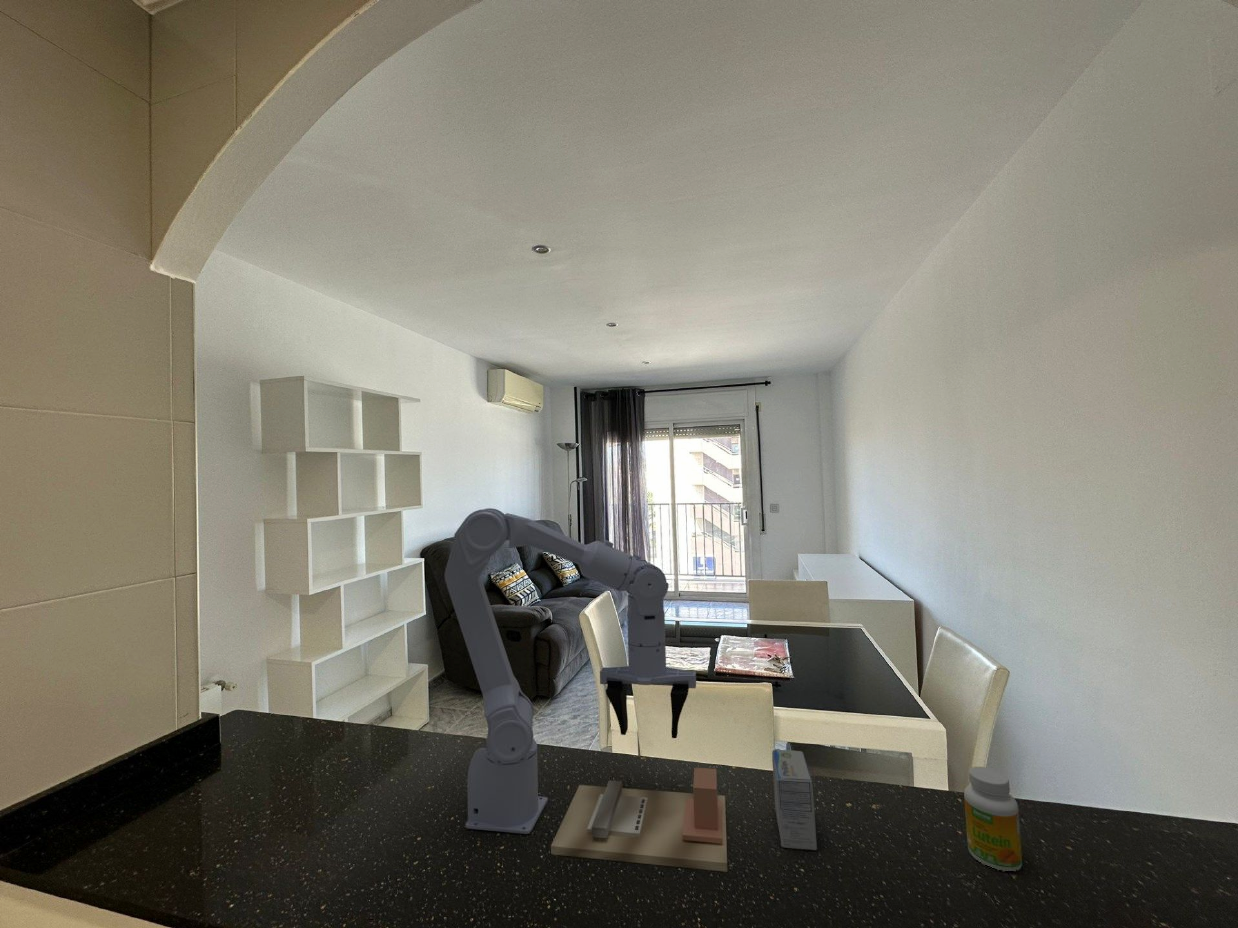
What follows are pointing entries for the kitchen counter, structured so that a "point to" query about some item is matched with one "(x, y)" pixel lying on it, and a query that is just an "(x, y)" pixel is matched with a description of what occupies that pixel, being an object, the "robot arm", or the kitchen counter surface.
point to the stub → (703, 809)
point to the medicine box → (794, 800)
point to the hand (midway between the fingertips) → (649, 733)
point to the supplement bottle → (992, 820)
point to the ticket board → (635, 829)
